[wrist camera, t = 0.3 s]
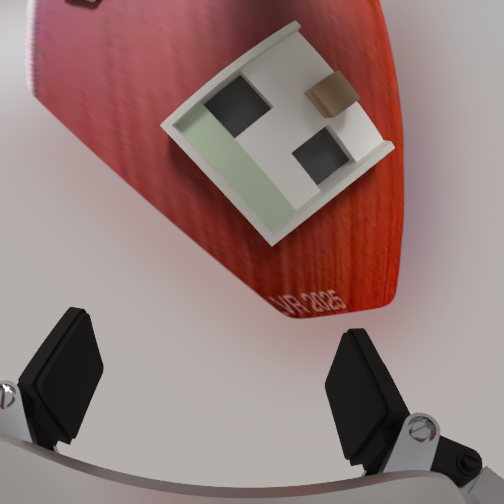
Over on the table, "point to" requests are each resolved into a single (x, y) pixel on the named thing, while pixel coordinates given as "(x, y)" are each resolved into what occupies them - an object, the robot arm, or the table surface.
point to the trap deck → (275, 135)
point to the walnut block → (332, 95)
